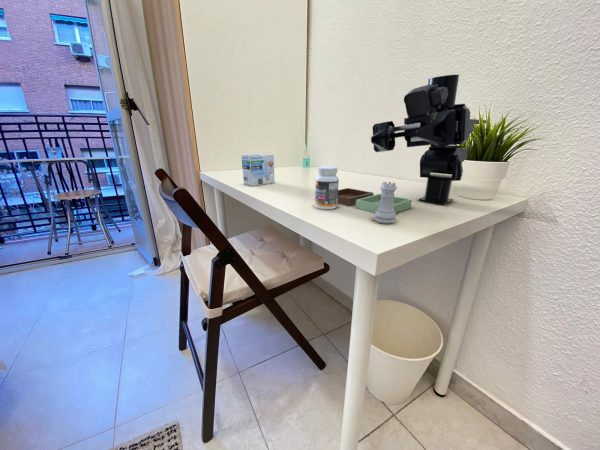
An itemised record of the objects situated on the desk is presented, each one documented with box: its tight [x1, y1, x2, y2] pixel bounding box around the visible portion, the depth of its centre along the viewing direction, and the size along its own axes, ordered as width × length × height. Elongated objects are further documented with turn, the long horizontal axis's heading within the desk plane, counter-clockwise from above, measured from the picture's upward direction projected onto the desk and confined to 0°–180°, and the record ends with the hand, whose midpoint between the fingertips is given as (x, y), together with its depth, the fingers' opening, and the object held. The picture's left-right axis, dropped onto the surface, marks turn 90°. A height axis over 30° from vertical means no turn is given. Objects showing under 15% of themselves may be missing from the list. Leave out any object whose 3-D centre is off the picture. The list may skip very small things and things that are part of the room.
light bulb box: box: [240, 153, 276, 187], centre depth 93 cm, size 11×7×11 cm, turn 132°
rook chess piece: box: [373, 181, 398, 225], centre depth 50 cm, size 4×4×8 cm
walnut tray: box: [337, 187, 374, 207], centre depth 69 cm, size 10×9×2 cm
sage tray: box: [355, 193, 413, 214], centre depth 61 cm, size 10×9×2 cm
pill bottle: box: [314, 165, 340, 210], centre depth 61 cm, size 6×6×10 cm
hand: (392, 136), depth 45 cm, fingers open, 9 cm apart
